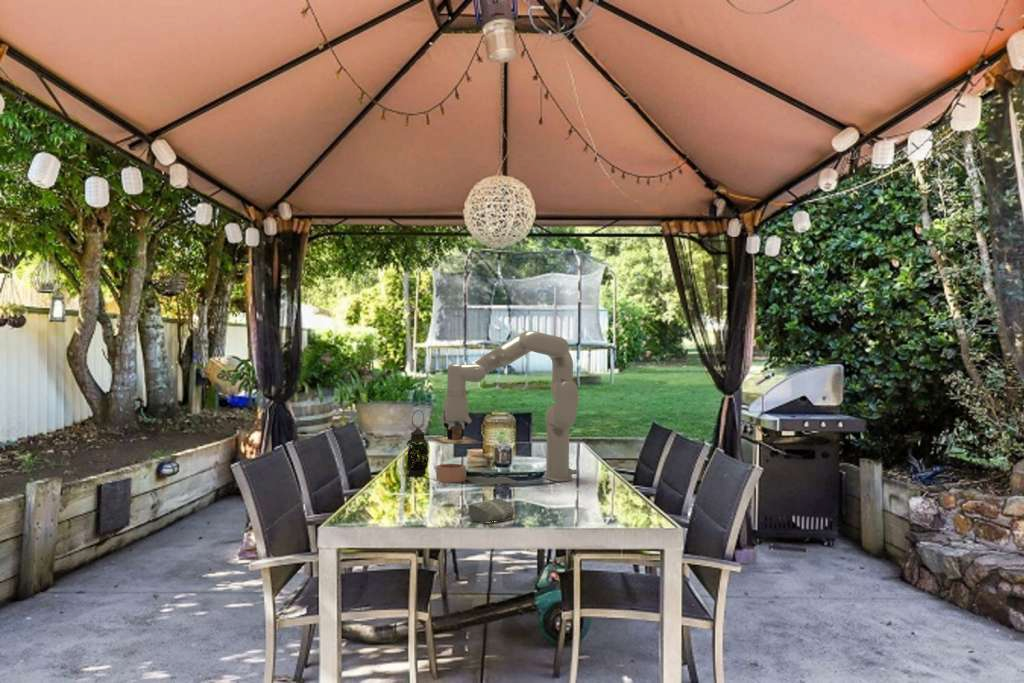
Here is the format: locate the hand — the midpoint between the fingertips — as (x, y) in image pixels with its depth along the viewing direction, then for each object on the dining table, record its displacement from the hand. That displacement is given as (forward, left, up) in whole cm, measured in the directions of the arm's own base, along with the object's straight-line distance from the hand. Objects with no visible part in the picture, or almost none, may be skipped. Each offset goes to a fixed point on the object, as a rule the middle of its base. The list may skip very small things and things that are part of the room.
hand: (455, 438), depth 296 cm
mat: (-14, +5, -18) cm, 23 cm away
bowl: (+1, -1, -18) cm, 18 cm away
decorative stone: (+11, +64, -18) cm, 68 cm away
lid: (0, 0, -1) cm, 1 cm away
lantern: (+9, -21, -18) cm, 29 cm away
